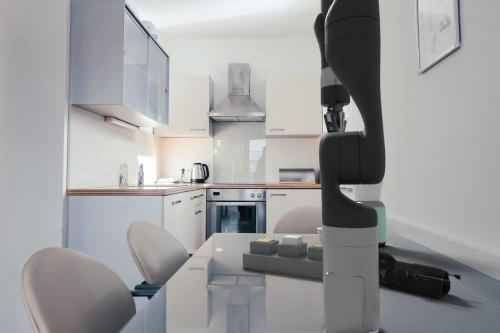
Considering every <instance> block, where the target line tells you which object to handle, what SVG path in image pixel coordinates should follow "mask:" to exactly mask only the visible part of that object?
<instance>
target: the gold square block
mask: <svg viewBox="0 0 500 333" xmlns="http://www.w3.org/2000/svg"><path fill="white" fill-rule="evenodd" d="M254 240H255V242H261V243H270V242H273V241H274V240H275V239H273V238H259V239H254Z"/></svg>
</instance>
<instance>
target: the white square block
mask: <svg viewBox="0 0 500 333" xmlns="http://www.w3.org/2000/svg"><path fill="white" fill-rule="evenodd" d="M303 242H304V241H303V235H295V234H287V235H284V236H282V237H281V243H282V245H293V246H299V245H301V244H303Z"/></svg>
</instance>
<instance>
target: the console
mask: <svg viewBox="0 0 500 333" xmlns="http://www.w3.org/2000/svg"><path fill="white" fill-rule="evenodd" d="M255 240H256V239H254V240H252V241H250V242H249V251H247V252H243V253H242V268H243V269H249V270H255V271H263V272H271V273H279V274H284V275H291V276H292V275H293V276H298V277H299V276H300V277H306V278H313V279H314V278H315V279H320V280H323V252H322V248H314V247H313V246H314V245H316V244H317V243H314V244H312V245H310V246H308V242H304V241H303V244H301V245H299V246H293V245H282V242H280V240H279V239H274V241H273V242H270V243H261V242H255Z"/></svg>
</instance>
